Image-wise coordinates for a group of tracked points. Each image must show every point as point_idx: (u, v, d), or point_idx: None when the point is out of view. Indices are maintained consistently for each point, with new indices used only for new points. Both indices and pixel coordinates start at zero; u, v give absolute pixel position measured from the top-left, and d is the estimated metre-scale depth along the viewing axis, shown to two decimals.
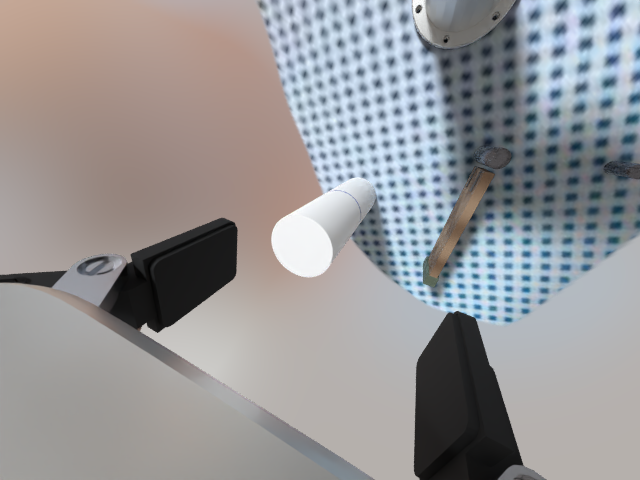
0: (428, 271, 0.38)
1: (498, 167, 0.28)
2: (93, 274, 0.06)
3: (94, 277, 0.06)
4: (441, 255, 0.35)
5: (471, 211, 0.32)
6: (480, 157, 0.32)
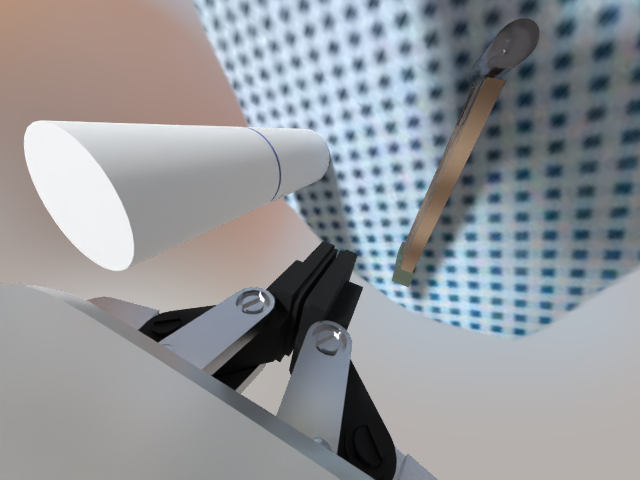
0: (400, 262, 0.25)
1: (513, 62, 0.15)
2: (244, 308, 0.06)
3: (240, 313, 0.06)
4: (417, 236, 0.22)
5: (463, 158, 0.18)
6: (479, 63, 0.18)
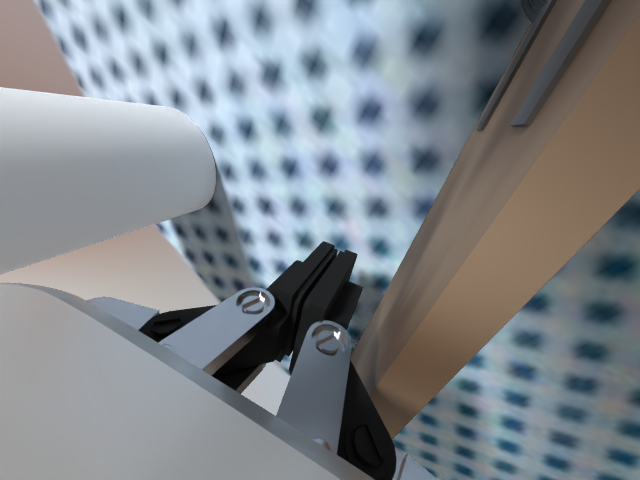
0: None
1: None
2: (244, 308, 0.06)
3: (241, 314, 0.06)
4: None
5: (517, 285, 0.04)
6: None
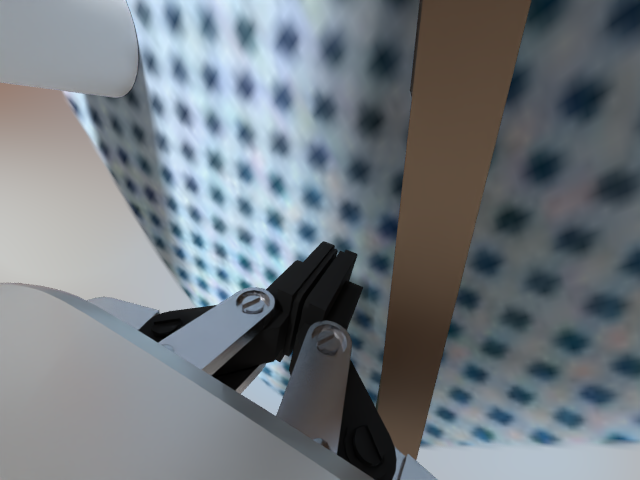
0: None
1: None
2: (244, 308, 0.06)
3: (241, 314, 0.06)
4: None
5: (452, 232, 0.04)
6: None
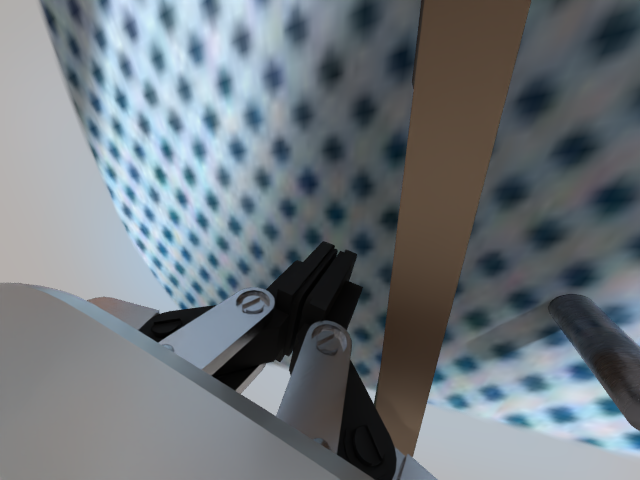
0: None
1: None
2: (244, 308, 0.06)
3: (241, 314, 0.06)
4: None
5: (452, 223, 0.04)
6: None
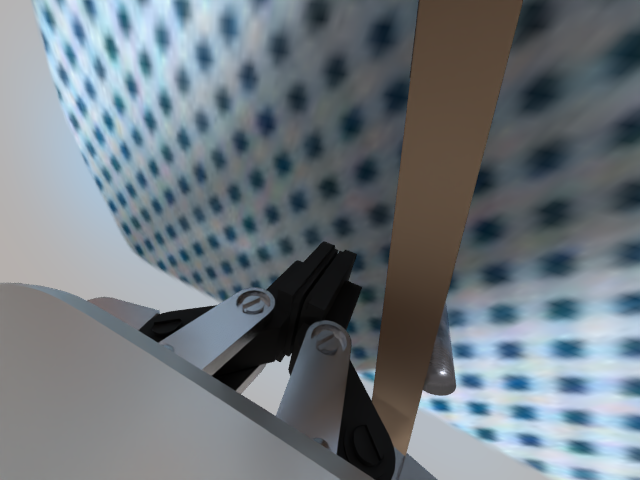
0: None
1: None
2: (245, 308, 0.06)
3: (241, 314, 0.06)
4: None
5: (448, 216, 0.04)
6: None
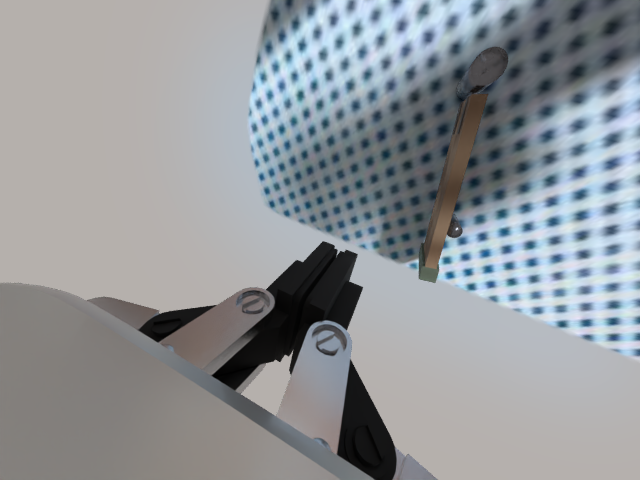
0: (423, 261, 0.27)
1: (473, 73, 0.19)
2: (244, 308, 0.06)
3: (240, 313, 0.06)
4: (435, 234, 0.25)
5: (464, 161, 0.21)
6: None
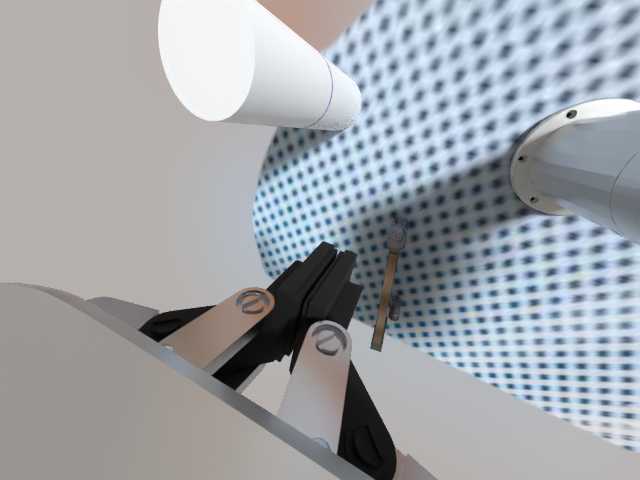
0: (373, 336, 0.40)
1: (387, 245, 0.31)
2: (244, 308, 0.06)
3: (241, 313, 0.06)
4: (377, 324, 0.37)
5: (389, 286, 0.34)
6: (396, 226, 0.33)
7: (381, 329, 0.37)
